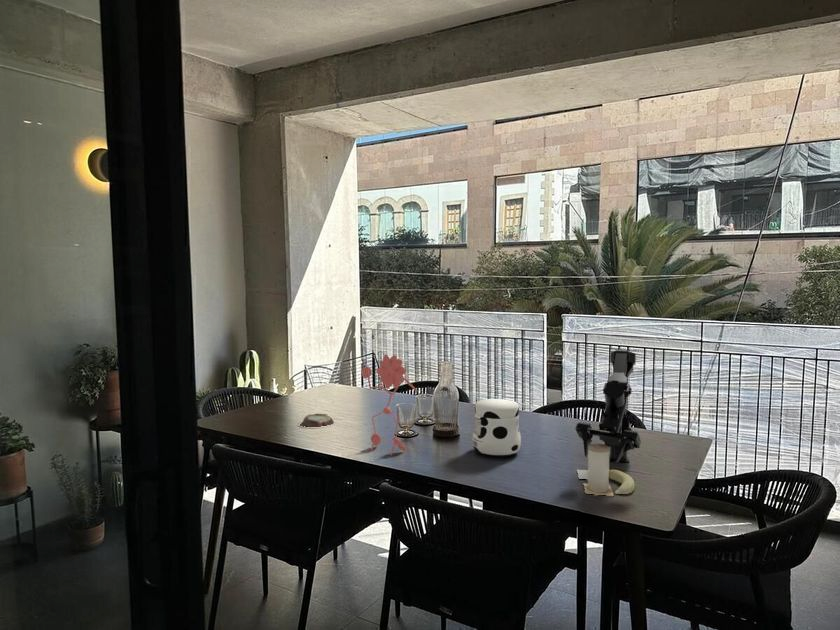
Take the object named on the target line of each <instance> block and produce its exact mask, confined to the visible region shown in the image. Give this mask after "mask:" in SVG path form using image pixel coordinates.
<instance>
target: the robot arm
mask: <svg viewBox="0 0 840 630" xmlns="http://www.w3.org/2000/svg"><path fill="white" fill-rule="evenodd" d="M609 361H610V362H609V363H610V364H611V366H612V374H611V375H609V376H608V377H607V382H604V386H603V389H602V393H603V395H604V400H605V408H604V411H602V413H601V415H602V418H601V422H600V423H598V429H597V428H592V427H593V426H591V423H586V422H578V423H577V424H576V426H575V431H576V433H577V435H578V438H580V439H581V440H582V442H583V451H584V453H583V454H584V457H585V458H588V445H590V444H592V442H593V440H592V438H593V437H594V436H596V437H598V438H599V441H602V442H603V443H604V445H607V446H609V447H610V451H609V462H610V463H611V462H613V463H615V464H618V463H630V459H629V457H628V451H630V450H635V449H640V446H641V443H642V442H641V441H642V440H641V438H640V435H639V433H638V431H634V430H633V428H632V427H631V422H630V420H629V418H628V416H627V406H628V405H627V402H628V401H627V400H628V397H630V395H631V394H632V390H633V388H632V387H631V384H629V377H630V376H631V374H632V373H633V372H634V366H635V365H636V362H637V355H636V353H635V352H633V351H630V350H628V349H616V350H615V349H614V351H610V359H609Z"/></svg>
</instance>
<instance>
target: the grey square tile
mask: <svg viewBox="0 0 840 630" xmlns="http://www.w3.org/2000/svg"><path fill="white" fill-rule="evenodd" d="M576 473H578V474H577V478H579V479H588V469H576ZM579 479H578V480H579Z"/></svg>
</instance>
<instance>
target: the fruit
mask: <svg viewBox="0 0 840 630" xmlns="http://www.w3.org/2000/svg"><path fill="white" fill-rule="evenodd" d="M609 480H612V481H614V480H615V481H614V482H617V483H619V484H621V485H620V486H619V487H618V488H617V490H615V491H614V492H613V494H615V495H616V494H628V495H630V494H632V492H633V491H634V490H635V481H634V479H633V477H632V476H630V475H629V474H627V473H625V472H623V471H621V470H618V469H609ZM629 493H630V494H629Z"/></svg>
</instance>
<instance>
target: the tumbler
mask: <svg viewBox="0 0 840 630" xmlns="http://www.w3.org/2000/svg"><path fill="white" fill-rule="evenodd" d="M609 454H610V447H609V446H607V445H605V443H604V444H603V443H590V445H588V455H587V458H588V459H587V463H588V464H587V468H588V469H587V470H588V480H587V484H588V489H589V490H590V491H593V492H597V493H604V492H608V491H609V485H610V478H609V470H610V461H609Z"/></svg>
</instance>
